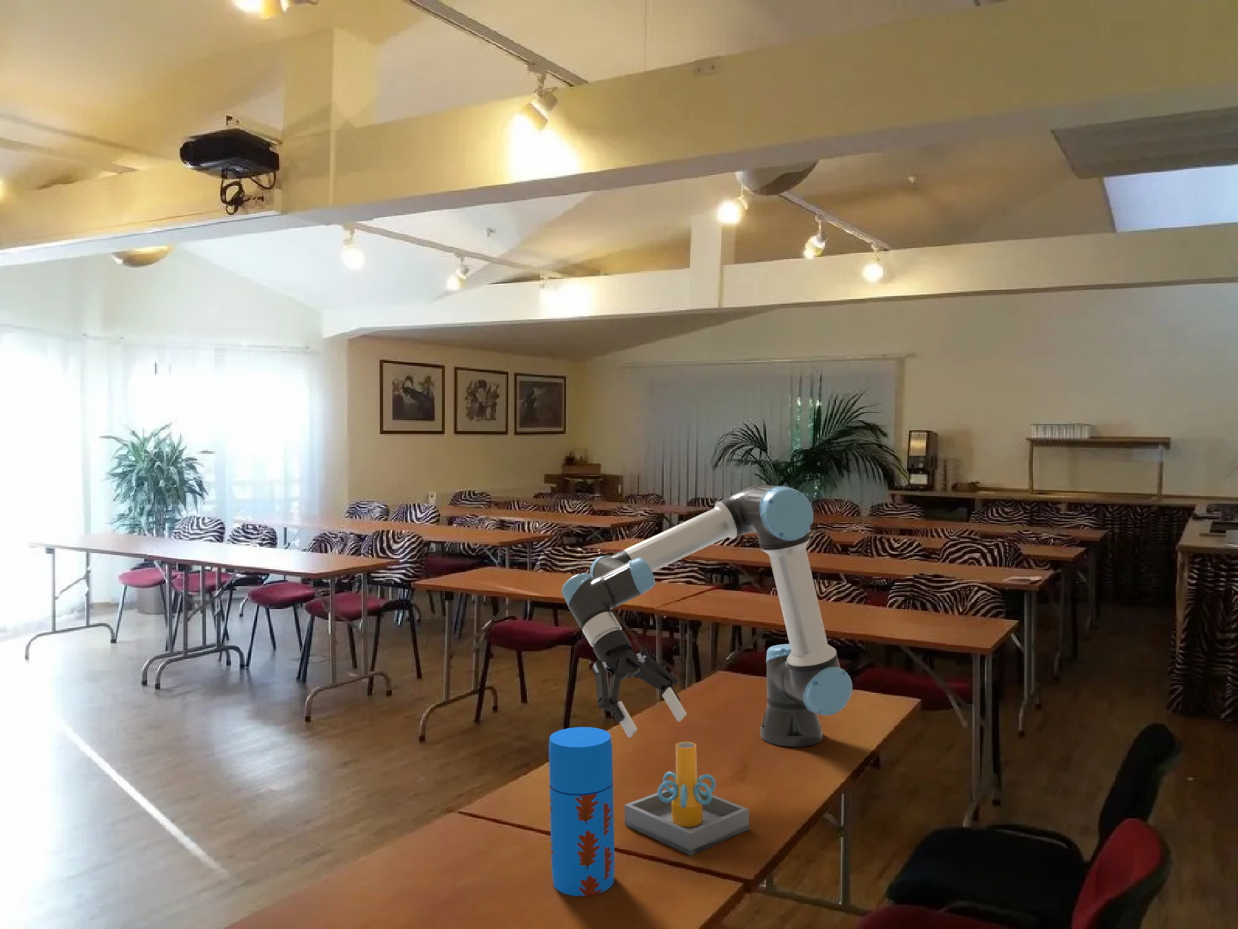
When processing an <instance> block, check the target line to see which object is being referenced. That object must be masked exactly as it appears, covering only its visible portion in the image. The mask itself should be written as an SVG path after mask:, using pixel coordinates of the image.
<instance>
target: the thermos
mask: <svg viewBox="0 0 1238 929" xmlns="http://www.w3.org/2000/svg"><path fill="white" fill-rule="evenodd" d="M548 766H549V768H548V769H549V771H548V772H549V774H548V775H549V803H550V804H549V807H550V808H549V809H550V811H549V813H550V816H549V817H550V850H551V852H550V853H551V854H550V856H551V871H552V872H551V874H552V876H551V877H552V885H554V886H553V888H555V890H556V891H558V892H560V893H562V894H564V895H569V896H572V897H588V896H589V897H590V896H595V895H596V896H597V895H598V894H601V893H603V892H606V891H607V890H609V889H610V888H612V886H613V884H614V882H615V881H614V880H615V828H614V827H615V826H614V822H615V821H614V817H615V815H614V783H613V782H614V779H613V778H614V776H613V775H614V774H613V772H614V771H613V766H614V765H613V745H612V736H611V733H610V732H608V731H607V730H605V729H601V728H597V727H592V726H578V727H577V726H576V727H568V728H565V729H564V728H563V729H559V730H557V731H555V732H552V733H551V735H550V736H549V742H548Z"/></svg>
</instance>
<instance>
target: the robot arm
mask: <svg viewBox="0 0 1238 929" xmlns="http://www.w3.org/2000/svg"><path fill="white" fill-rule="evenodd" d="M813 523H814V510H813V505H812V504H811V502H810V501H809V499H808V497H807V496H806V495H805V494H803V493H802V492H801V491H799V490H797V489H795V488H792V487H789V486H785V485H770V484H755V485H751V486H748V487H746V488H744V489H742V490H740V491H737V492H735V493H734V494H732V495H729V496H728V497H725V498H723V499H722V500H719V501H717V502H716V503H715V504H714V508H712V509H708V510H707V511H706V512H703V513H701V514H699V515H696V516H695V517H693V518H690V519H688V520H686V521H684V522H681V523H680V524H678V525H675V526H673V527H670V528H668V529H667V530H664V531H662V532H660V533H658V534H656V535H653V536H652V537H649V538H646V539H645V540H643V541H641V542H640V541H639V542H638V543H636V544H634V545H632V546H629V547H628V548H625V549H623V550H620V551H618V552H616V553H614V554H612V555H602V556H599V557H597V558H595V560H594V561H593V562H592V563H591V565H590V570H589V573H587V572H582V573H580V574H579V573H577V574H575V575H572V576H571V577H570V578H569V579H567V580H566V581H565V582H564V584H563V585H562V588H561V595H562V597H563V598H564V601H565V603H566V604H567V607H568V609H569V610H570V613H571V614H572V616H573V617H574V619H575V621H576V622H577V624H578V626H579V628H580V629H581V631H582V634H583V635H584V636H585V638H586V639H587V640H586V641H587V642H588V643H589V645H590V646H591V647H592V651H593V652H594V654H595V656H596V658H597V660H596V662H594V664H593V665H592V667H591V670H592V672H593V674H594V678H595V690H596V700H597V701H596V702H597V707H598V708H599V709H603V708H604V711H606V712H610V713H611V714H612V716H613V718H614V719H615V721H616V722H617V723H619V724H620V725H621V728H622V729H623V730H624V733H625V735H626V736H627V738H632V737H633V736H634V734H635V733H636V732H637V731H638V728H637V726H636V724H635V722H634V720H633V719H632V717H631V716H630V713H629V712H628V710H627V709H626V707H625V704H624V703H623V701H621V700H620V701H618V699H619V691H620V684H621V681H623V680H625V679H627V678H633V677H634V678H636V679H641V680H642V681H644V682H646V683H647V684H649V685H651V686H652V687H654V688H655V689H657V690H659V691H661V692H662V695H661V696H662V698H663V699H664V702H665V703H666V705H667V706H668V708H669V710H670V712H671V713H672V715H673V716H674V718H675V719H676V721H677V723H680V722H681V721H682V720H683V719H684V718H685V717H686V716H687V715H688V713H687V711H686V710H685V708H684V707H683V705H682V703H681V702H680V701H681V699H680V698H681V697H679V695H678V694H677V692H676V689H674V686H675V685H676V684H677V683H678V679H677V678H676V677H675V676H674V675H673V674H672V673H671V672H669V671H668V670H667V669H665V667H663V666H662V665H661V664H660V663H658V661H656V660H655V659H654V658H653V657H652V656H651V655H650V653H649V652H648V651H647V650H646V649H645V648H643V649H642V650H640V652H639V653H635V652H634V651H633V649H632V643H631V641H630V640H629V638H628V636H627V634H626V633H625V630H622V629H623V628H622V626H621V624H620V622H619V621H618V619H617V617H616V616H615V615H614V613H613V611H612V610H613V609H615V608H616V607H619V606H621V605H624V604H625V603H627V602H629V601H631V600H633V599H635V598H637V597H639V596H642V595H644V594H645V593H646V592H648V591H650V590H651V589H653V588H654V586H655V585H656V579H655V576H654V573H653V572H655V571H657V570H660V569H662V568H664V567H667V566H668V565H670V564H673V563H675V562H677V561H679V560H681V559H683V558H685V557H688V556H689V555H692V554H695V553H696V552H698V551H700V550H702V549H705V548H707V547H709V546H711V545H714V544H715V543H717V542H719V541H722V540H723V539H727V538H729V539H736V538H738V537H741V536H742V535H747V534H753V533H754V534H757V535H756V536H757V539H758V543H759V547H760V550H761V551H762V552H764V553H765V554H767V555H768V556H769V561H770V566H771V569H772V570H771V571H772V574H773V579H774V584H775V587H776V591H777V595H778V600H779V605H780V608H781V612H782V617H783V621H784V624H785V625H784V626H785V630H786V633H787V634H786V635H787V639H788V641H789V642H788V643H784V644H782V643H781V644H776V645H772V646H770V647H768V648H767V650H766V659H765V664H766V696H767V697H766V700H767V703H766V704H767V705H766V709H765V712H764V715H763V719H762V722H761V724H760V737H761V739H762V740H763V741H765V742H767V743H769V744H771V745H777V746H782V747H790V748H791V747H794V748H795V747H796V748H800V747H801V748H802V747H807V746H808V747H809V746H813V745H816V744H818V743H820V742H822V740H823V728H822V725H821V724H820V720H819V716H818V715H820V716H825V717H826V716H827V717H828V716H831V715H832V716H833V715H835V714H837V713H839V712H840V711H842V710H843V709H844V708H845V707H846V706H847V703H848V701H850V700H851V698H852V697H851V696H852V693H853V682H852V679H851V676H850V675H849V673H848V672H846V670H844V669H843V668H841V665H840V661H839V658H838V653H837V650H836V648H834V647H833V646H831V645H830V644H828V639H827V635H826V630H825V626H824V621H823V617H822V614H821V613H822V612H821V608H820V604H819V600H818V595H817V591H816V587H815V582H814V578H813V574H812V569H811V564H810V561H809V560H810V559H809V556H808V552H807V546H808V544H809V543H810V541H811V535H810V530H811V527H812V525H813ZM607 672H608V673H609V674H610V675H609V686H608V681H607V679H608V678H607Z"/></svg>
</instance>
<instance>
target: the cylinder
mask: <svg viewBox="0 0 1238 929" xmlns="http://www.w3.org/2000/svg"><path fill="white" fill-rule="evenodd" d="M697 763H698V762H697V744H696V743H695V742H692V741H679V742H676V744H675V772H673V771H666V773H665V774H664V775H663V779H662V783H661V784H660V785H659V786H658V789H657V793H658V797H659V799H660V800H661V801H662V802H665V803H669V802H671V803H672V822H673V823H674V824H676V825H678V826H681V827H694V826H698V825H700V824H701V823H702V821H703V811H702V805H707V804H709V803H710V802H711V799H712V795H713V794H712V793H713V792H714V790H715V789H716V780H715V778H714V777H713V776H712V774H710V773H706V774H705V773H704V774H701V775H700V776H699V777H698V771H697V769H698V768H697ZM670 776H671V777H672V778H673V779H674V781H673V780H669V779H668V778H669V777H670ZM705 779H707V780H710V782H711V786H710V785H708V784H707V783H706V782H703V780H705ZM669 785H670V786H672V787H674V790H672V789H671V787H670V786H669ZM709 786H710V787H709ZM700 787H703V788H704V790H705V791H704V792H702V791H703V790H701V788H700ZM664 788H665V789H664ZM663 789H664V790H667V791H668V792H669V793H671V794H673V795H672V796H671V797H670V798H664V797H663V796H662V791H663ZM700 795H701V796H708V798H707V800H706V801H704V800H702V799H701V797H700Z"/></svg>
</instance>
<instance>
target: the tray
mask: <svg viewBox="0 0 1238 929" xmlns="http://www.w3.org/2000/svg"><path fill="white" fill-rule="evenodd" d="M670 788H671V789H672V790H674V787H673V786H672V787H670ZM701 791H702V792H705V791H704V790H701ZM672 795H673V794H671V793H669V792H668V791H667V790H666V789H664V790H663V789H662V796H663V797H664V798H670V797H671V796H672ZM700 797H701V799H702V800H704V801H706V800H707V798H708V796H701V795H700ZM623 807H624V826H626V827H628V828H631V829H633V830H634V831H637V832H638V833H641V834H643V835H646V836H647V837H650V838H652V839H654V840H655V841H658V840H659V841H658V842H661V843H662V844H664V845H666V846H669V847H671V848H673V849H675V850H677V851H680V852H681V853H683V852H684V854H686V855H687V856H694V855H695V853H696V854H698V853H700V852H702V851H704V850H707V849H709V848H711V847H713V846H715V845H718V844H720V843H722V842H724V841H727V840H729V839H731V838H733V837H736V836H738V835H740V834H743V833H745V832H747V831H749V830H750V809H749V808H747V807H745V806H742V805H740V804H737V803H735V802H732V801H730V800H727V799H725V798H722V797H720V796H717V795H714V794H712V799H711V802H710V803H709V804H707V805H702V811H703V821H702V823H701V824H700V825H698V826H694V827H681V826H678V825H676V824H674V823H673V822H672V803H671V802H669V803H665V802H662V801H661V800H660V799H659V797H658V792H655V793H652V794H649V795H646V796H645V797H641V798H639V799H635V800H633V801H631V802H628V803H626V804H624V806H623Z"/></svg>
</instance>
